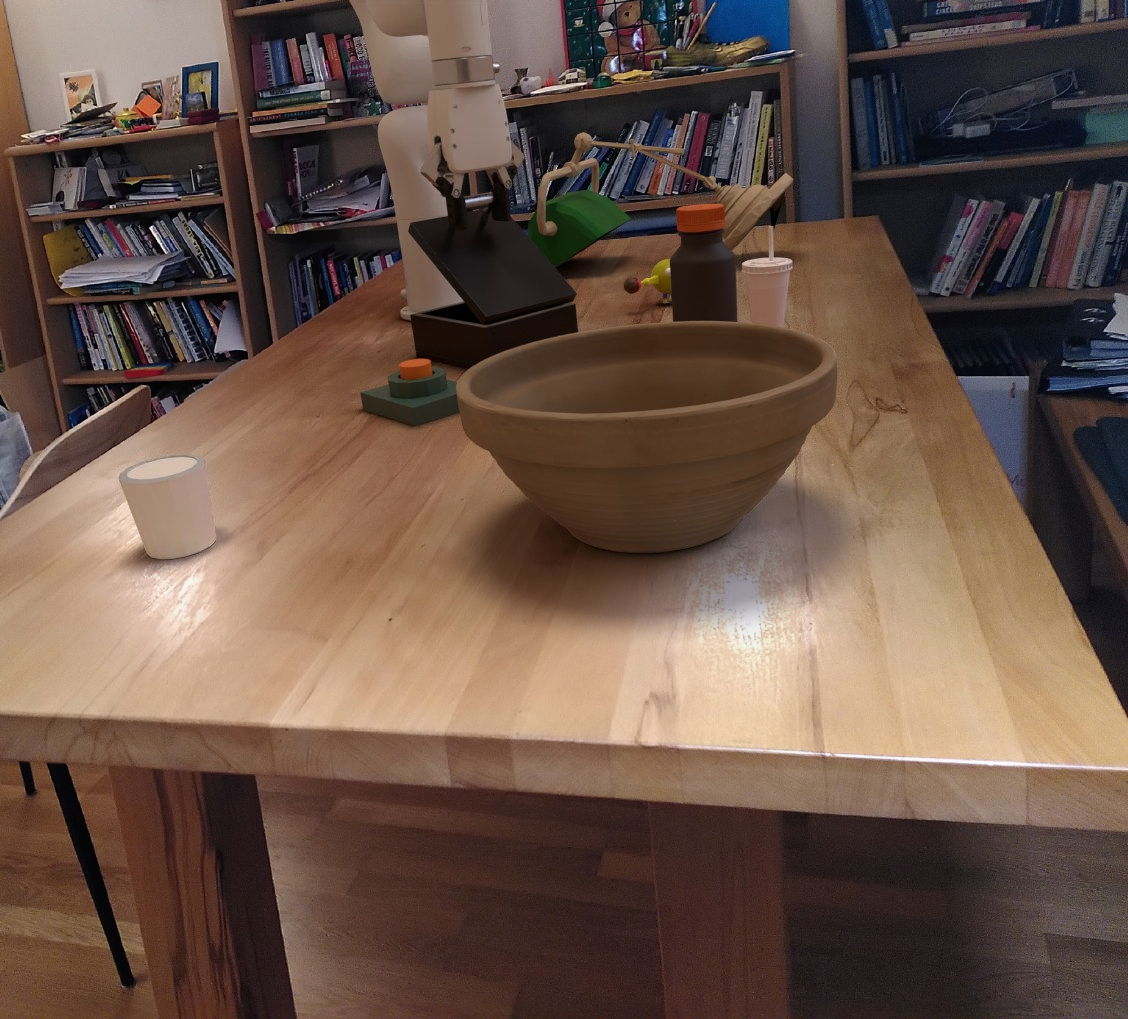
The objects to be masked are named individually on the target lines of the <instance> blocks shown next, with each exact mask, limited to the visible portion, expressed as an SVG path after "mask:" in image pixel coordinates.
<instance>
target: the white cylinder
mask: <svg viewBox="0 0 1128 1019" xmlns="http://www.w3.org/2000/svg"><path fill="white" fill-rule="evenodd" d="M117 480H118V481H119V484H120V487H121V490H122V492H123V494H124V497H125V500H126V502H127V505H128V508H129V510H130V513H131V515H132V519H133V521H134V524H135V527H136V528H137V532H138V534H139V537H140V539H141V542H142V545H143V547H144V549H145V552H146V554H147V555H148V556H149V557H150V558H153V559H157V560H173V559H174V560H175V559H179V558H183V557H184V558H185V557H190V556H192V555H194V554H198V553H201V552H203V551H205V550H206V549H209V548H210V547H211V546H212V545H213V544H214V543H215V542H216V539H217V534H216V528H215V521H214V520H215V519H214V513H213V504H212V498H211V491H210V483H209V475H208V466H207V461H206V458H205V457H203V456H201V455H199V454H190V453H187V454H172V455H171V454H170V455H166V456H160V457H154V458H152V459H147V460H144V461H141V462H139V463H135V464H134V465H131V466H128V467H127V468H125V469H124V470H122V471H121V472H120V473H119V475H118V479H117Z"/></svg>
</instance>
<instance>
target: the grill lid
mask: <svg viewBox="0 0 1128 1019" xmlns="http://www.w3.org/2000/svg"><path fill="white" fill-rule="evenodd" d="M463 197H464V198H465V202H466V210H467V218H468V228H467V229H466V230H457V229H451V227H450V223H449V221H448V216H444V217H438V218H433V219H427V220H422V221H416V222H411V223H410V225H409V229H408V232H409V234H410V235H411V236H412V237H413V239H414V240H415V241H416V242H417V244H418V245H419V246H420V247H421V249H422V250H423V251H424V252H425V254H426V255H427V256H428V257H429V259H430V260H431V261H432V262H433V264H434V265H435V266H436V267H437V269H438V270H439V271H440V272H441V274H442V275H443V276H444V277H445V279H446V280H447V281H448V282H449V284H450V285H451V286H452V287H453V289H454V290H455V291H456V292H457V294H458V295H459V296H460V297H461V299H462V300H463V301H464V302H465V304H466V305H467V306H468V307H469V309H470V310H471V311H472V312H473V314H474V315H475V316H476V317H477V319H478V320H479V321H480V322H481V324H482V325H486V324H490V323H494V322H498V321H502V320H505V319H509V318H513V317H517V316H520V315H524V314H528V313H532V312H536V311H539V310H543V309H547V308H551V307H555V306H558V305H562V304H566V303H573V302H574V301H575V299H576V297H577V294H578V292H577V291H576V290H575V289H574V288H573V287H572V286H571V285H570V283H569V282H568V281H567V280H566V278H564V276H563V275H562V274H561V273H560V272H559V270H558V269H557V267H556V268H555V267H554V266H553V265H552V264H551V263H550V261H549V260H548V259H547V258H546V257H545V256H544V254H543V253H542V252H541V251H540V250H539V249H538V247H537V246H536V245H535V244H534V243H533V242H532V240H531V239H530V238H529V237H528V234H527V233H526V232H525V230H523V228H521V226H520V225H519V224H518V223H517V222H516V221H515V219H514V218H513V217H512V216H511V220H510V221H495V220H493V219H492V211H491V209H492V206H496V205H497V203H498V197H497V195H496V193H495V192H490V191H489V192H485V193H483V192H482V193H477V194H472V195H466V196H465V195H464V196H463Z"/></svg>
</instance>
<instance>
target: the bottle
mask: <svg viewBox="0 0 1128 1019" xmlns="http://www.w3.org/2000/svg"><path fill="white" fill-rule="evenodd" d="M675 211H676V212H675V213H676V214H675V215H676V230H677V232H678V233H677V236H679V237H680V245H679V246H678V248H677V249H676V250H675V251H674V253H673V254H672V255H671V257H669V259H670V275H671V294H672V304H671V310H672V322H682V321H725V322H739V321H738V292H737V291H738V290H737V288H738V287H737V262H736V260H737V259H736V254H735V252H734V251H733V250H731V249H730V248H729V247H728V246H727V245H726V244H725V243H724V240H723V239H724V238H723V237H722V233H723V232H725V230H724V229H723V228H724V227H725V206H724V205H723V204H717V203H698V204H688V205H683V206H680V207H678V208H676V210H675ZM671 294H670V295H671Z"/></svg>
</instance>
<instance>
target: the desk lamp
mask: <svg viewBox="0 0 1128 1019" xmlns="http://www.w3.org/2000/svg"><path fill="white" fill-rule="evenodd" d="M592 138H593V137H592V136H591V135H590V134H588V133H586V132H580V133H578V134H577V135H576V136H575V138H574V142H573V144H574V147H575V150H574V153H573V156H572V158H571V160H570V161H568V162H565V163H564V164H563V166H562V168H558V169H555V170H551V171H548V172H546V173H545V174H544V175H543V176H542V178H541V182H540V184H539V187H538V189H537V191H538V192H537V207H536V209H535V211H534V212H533V214H532V215H531V218H530V219H529V221H528V224H527V226H528V227H527V236H528V237H529V238H530V239H531V240H532V242H533V243H534V244H535V245H536V246H537V247H538V249H539V250H540V251H541V252H542V253H543V254H544V256H545V257H546V258H547V259H548V260H549V261H550V263H551V264H552V265H553V266H554V267H555V268H556V269H557V268H558V267H559V266H561V265H564V263H567V262H568V261H569V260H571V259H573V258H574V257H575V256H578V255H579V254H581V253H582V252H583V251H585V250H586V249H588V248H589V247H591V246H593V245H595V243H597V242H598V241H600V240H602V239H603V238H605V237H607V236H608V235H609V234H611V233H612V232H613V231H616V230H617V229H618V228H620V227H621V226H623V225H625V224H626V223H628V222H629V221H630V220H632V218H631V217H630V216H629V215H628V214H627V213H626V212H625V211H623V210H622V208H620V207H619V206H618V205H617V204H616V203H615V202H614V201H612V200H611V199H610V198H609V197H607V196H605V195H602V194H600V193H599V188H600V164H599V162H598V160H597V158H593V157H592V158H588V159H586V160H585V159H584V160H581V158H582V156H583V154H584V153H587V152H590V150H591V149H592V147H603V148H613V149H624V150H629V152H630V153H631V158H636V157H637V156H636V153H635V152H639V153H640V154H643V155H645V156H647V157H649V158H651V159H654V160H656V161H658V162H661V163H662V164H665V165H667V166H669V167H672V168H674V169H676V170H678V171H680V172H683V173H684V174H687V175H688V176H690V177H692V178H695V179H698V180H699V181H702V184H703V186H704V187H705V188H709V189H710V190H713V191H715V193H716V195H715V198H716V204H723V205H724V206H725V227H724V228H723V229H724V230H725V232H723V233H722V238H723V239H724V240H723V242H724V243H725V244H726V245H727V246H728V247H729V248H730V249H731V250H732V251H733V250H734V249H735V248H736V247H738V245H739V244H740V243H741V242H742V241H743V240H744V239H745V238H746V237H747V236H748V234H749V233H750V232H751V231H752V230H753V229H754V228H755V226H757V225H758V223H759V222H760V221H761V220H762V219H763V217H764V216H766V214H767V213H768V212H769V214H770V215H769V216H770V226H773V233H774V232H775V229H776V225H777V222H778V219H779V215H780V211H781V208H782V205H783V202H784V198H785V195H786V191H787V190H788V189H789V188H790V187H791V185H792V184H793V183H794V178H793V177H791V175H789V174H788V173H787V172H785V173H784V174H783V175H782V176H780V178H779V179H778V180H777V181H775V182H774V183H773V185H772V186H771V187H770V188H768V187H767V184H765V185H762V184H754V185H751V184H749V185H748V186H747V187H742V185H741V184H739V183H737V182H735V183H734V184H733V185H727V184H725V185H724V186H722V185H720V184H719V183H718V184H717V183H716V181H717V178H716V177H715V176H714V175H710V176H708V177H707V176H705V175H702V174H700V173H698V172H696V171H693V170H691V169H689V168H687V167H684V166H682V165H680V164H678V163H675V162H673V161H671V160H669V159H667V158H664V157H662V156H659V155H658V154H656V153H665V154H672V155H677V156H684V154H685V149H684V148H681V147H680V148H679V147H672V148H671V147H663V146H662V147H660V146H651V145H643V144H641V143H637V142H635V140H634V139H633V138H630V139H629V143H619V142H609V141H608V142H607V141H597V140H593V139H592ZM653 152H654V153H653ZM580 160H581V161H580ZM589 168H591V189H584V190H577V191H576V190H575V191H570V192H566V193H564V194H561V195H558V196H556V197H554V198H552V199H551V198H550V199H549V200H547V196H548V187H549V185H550V182H553V181H555V180H557V179H560V178H563V177H566V178H574V177H576V176H577V175H580V174H581V172H582V171H584V170H587V169H589Z"/></svg>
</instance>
